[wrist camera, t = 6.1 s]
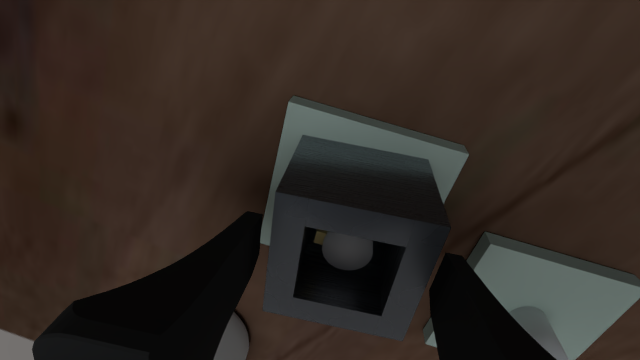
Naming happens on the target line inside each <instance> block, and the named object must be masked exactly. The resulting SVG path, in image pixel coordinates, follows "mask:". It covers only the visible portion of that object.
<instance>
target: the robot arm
mask: <svg viewBox="0 0 640 360" xmlns="http://www.w3.org/2000/svg"><path fill="white" fill-rule="evenodd" d="M262 216H263V214H258V213H254V212H249V211H247V212H245V213H244V214H243V215H242V216H240V217H239V218H238V219H237V220H236V221H234V222H233V223H232V224H231V225H230V226H228V227H227V228H226V229H225V230H223V231H222V232H221V233H219V234H218V235H217V236H215V237H214V238H213V239H211V240H210V241H209V242H207V243H206V244H204V245H203V246H201V247H200V248H198V249H197V250H195V251H194V252H192V253H190V254H189V255H187V256H186V257H184V258H182V259H180V260H179V261H177V262H175V263H173V264H171V265H170V266H168V267H166V268H163V269H161V270H159V271H157V272H155V273H153V274H150V275H148V276H146V277H144V278H142V279H139V280H137V281H134V282H132V283H129V284H126V285H124V286H121V287H118V288H115V289H112V290H109V291H106V292H103V293H100V294H96V295H93V296H90V297H86V298H83V299H80V300H76V301H74V302H73V303H72V304H71V305H70V306H68V307H67V308H66V309H65V310H64V311H63V312H62V313H61V314H60V315H59V316H58V317H57V318H56V319H55V320H54V321H53V323H52V324H51V325H50V326H49V327H48V328H47V329H46V330H45V331H44V332H43V333H42V334H41V335H40V336H39V337H38V338H37V339H36V340H35V341H34V344H33V348H32V351H33V356H34V360H213V359H214V357H215V354H216V351H217V349H218V346H219V343H220V341H221V338H222V336H223V333H224V331H225V329H226V327H227V324H228V322H229V320H230V318H231V316H232V314H233V312H234V310H235V308H236V306H237V304H238V302H239V300H240V298H241V296H242V294H243V292H244V290H245V288H246V286H247V284H248V282H249V280H250V278H251V276H252V273H253V270H254V267H255V264H256V262H257V259H258V256H259V249H260V238H261V227H262ZM429 295H430V311H431V319H432V324H433V330H434V335H435V340H436V345H437V350H438V355H439V360H557V359H555V358H554V357H553V356H552V355H551V354H550V353H549V352H548V351H546V350H545V349H544V348H543V347H542V346H541V345H540V344H539V343H538V342H537V341H536V340H535V339H534V338H533V337H532V336H531V335H530V334H529V333H528V332H526V331H525V329H524V328H523V327H522V326H521V325H520V324H519V323H518V322H517V321H516V320H515V319H514V318H513V317H512V316H511V315H510V313H509V312H508V311H507V310H506V309H505V308H504V307H503V306H502V304H501V303H500V302H499V301H498V300H497V299H496V297H495V296H494V295H493V294H492V293H491V291H490V290H489V289H488V288H487V287H486V285H485V284H484V283H483V282H482V280H481V279H480V278H479V276H478V275H477V274H476V273H475V271H474V270H473V269H472V268H471V266H470V265H469V264H468V263H467V261H466V260H465V259H464V258H463V257H462V256H460V255H455V254H450V253H445V256H444V258H443V260H442V262H441V265H440V267H439V269H438V272H437V274H436V276H435V278H434V281H433V283H432V285H431V288H430V290H429Z"/></svg>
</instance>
